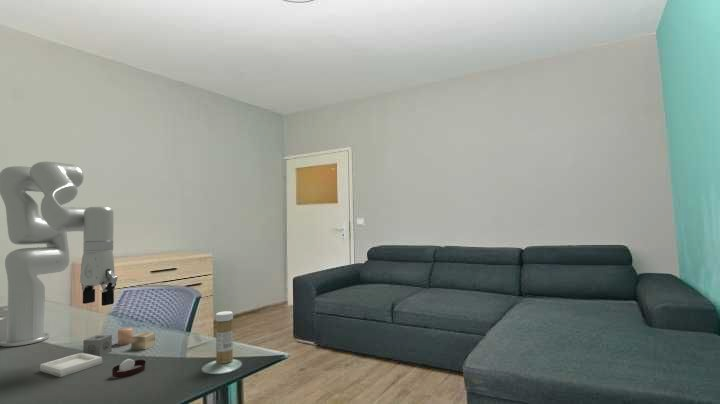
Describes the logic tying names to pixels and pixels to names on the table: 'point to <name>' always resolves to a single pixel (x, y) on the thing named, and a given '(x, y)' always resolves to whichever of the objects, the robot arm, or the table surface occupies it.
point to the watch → (128, 368)
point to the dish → (70, 364)
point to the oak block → (143, 340)
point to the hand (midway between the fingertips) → (98, 303)
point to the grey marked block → (98, 345)
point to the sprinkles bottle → (224, 337)
